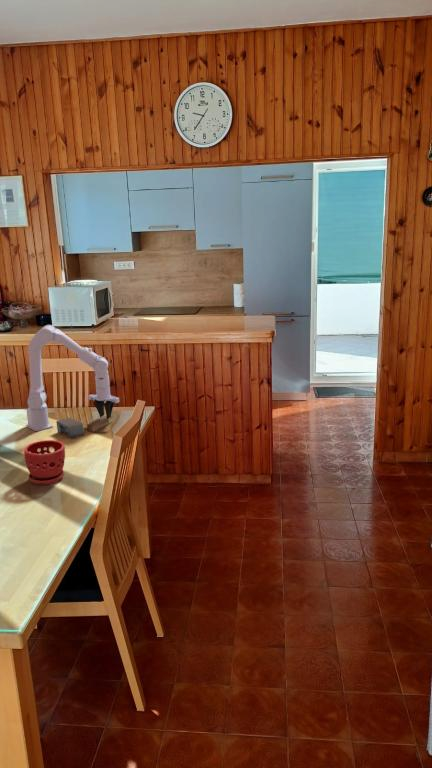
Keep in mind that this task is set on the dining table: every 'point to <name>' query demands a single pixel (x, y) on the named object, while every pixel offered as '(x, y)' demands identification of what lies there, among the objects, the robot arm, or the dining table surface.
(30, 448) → the plant pot
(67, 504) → the dining table surface
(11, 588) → the dining table surface
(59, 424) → the sleeve housing
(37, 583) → the dining table surface
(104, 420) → the capped rod
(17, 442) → the dining table surface
